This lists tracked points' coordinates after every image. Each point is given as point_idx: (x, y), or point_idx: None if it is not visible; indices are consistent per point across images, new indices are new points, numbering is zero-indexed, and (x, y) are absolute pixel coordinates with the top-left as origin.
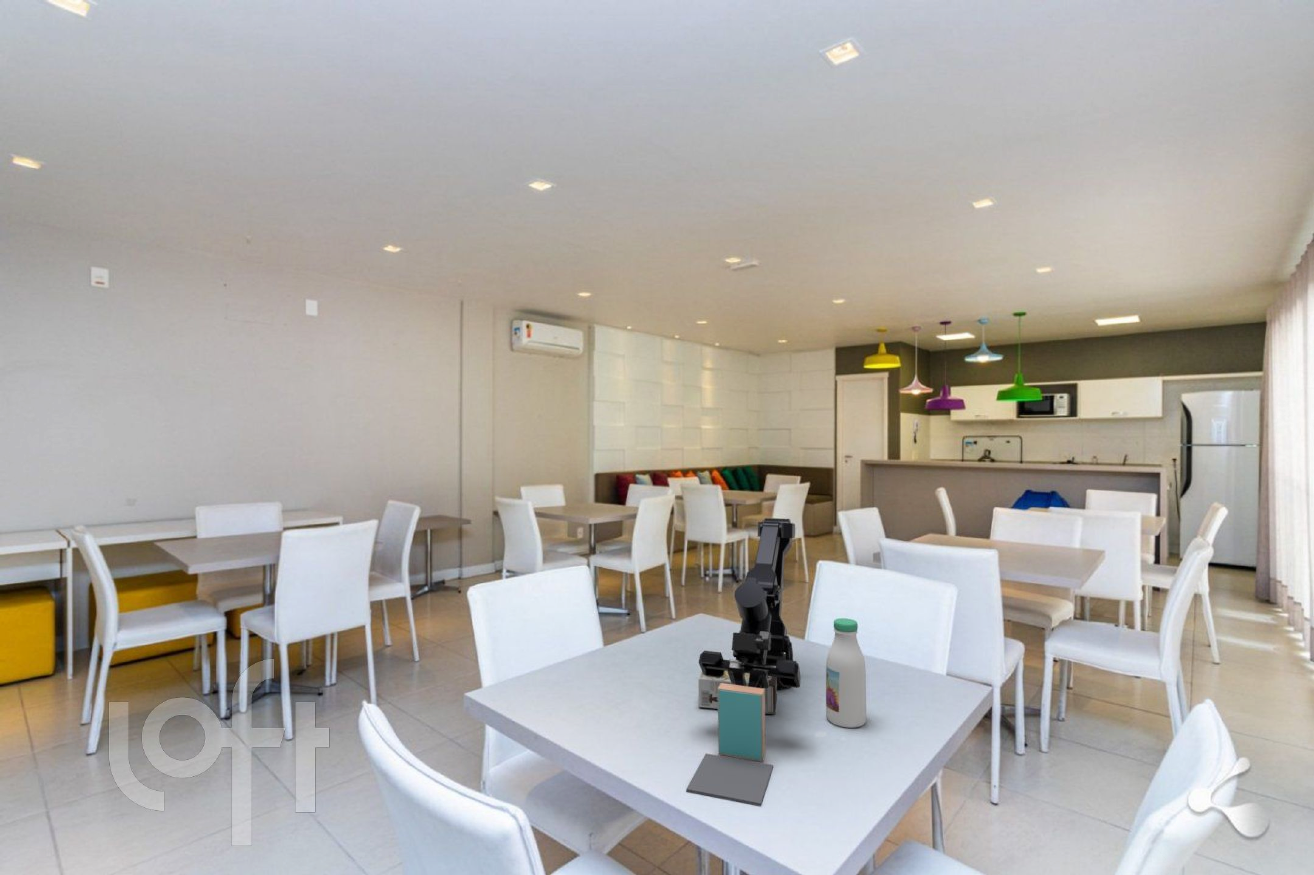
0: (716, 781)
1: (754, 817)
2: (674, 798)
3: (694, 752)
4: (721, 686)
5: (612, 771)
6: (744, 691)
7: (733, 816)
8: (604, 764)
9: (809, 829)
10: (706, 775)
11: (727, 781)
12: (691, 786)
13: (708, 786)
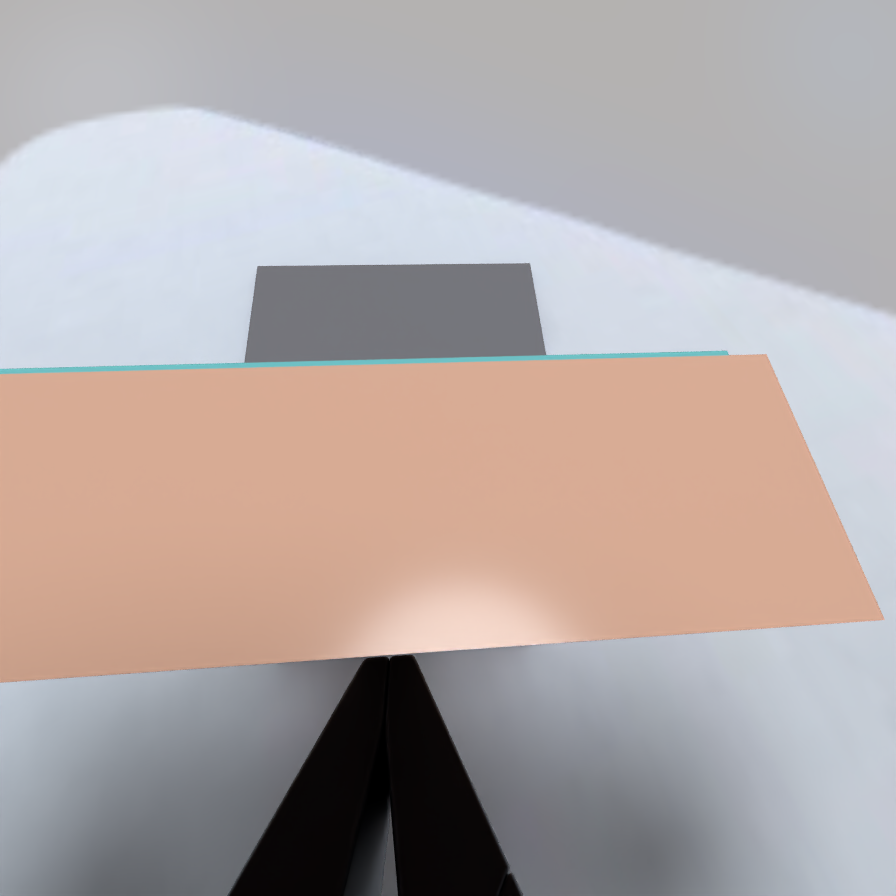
0: (445, 333)
1: (276, 222)
2: (545, 231)
3: None
4: (756, 450)
5: (819, 294)
6: (251, 388)
7: (341, 209)
8: (878, 321)
9: (97, 219)
10: (497, 356)
11: (404, 347)
12: (519, 279)
13: (462, 297)
